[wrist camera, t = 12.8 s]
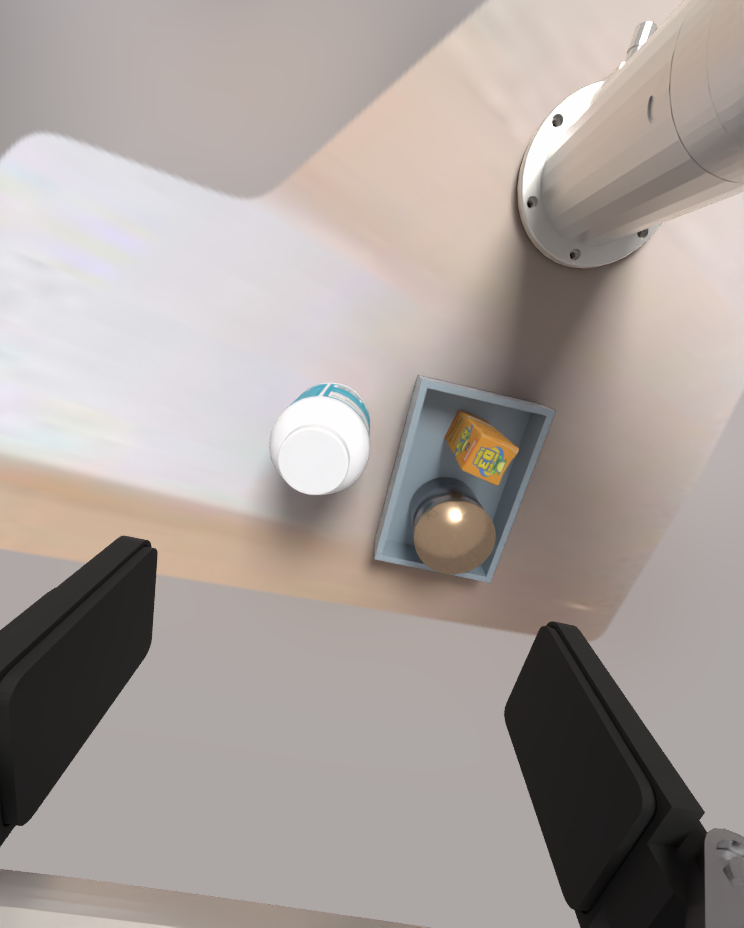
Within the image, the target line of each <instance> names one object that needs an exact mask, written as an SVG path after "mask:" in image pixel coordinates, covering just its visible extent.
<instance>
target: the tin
mask: <svg viewBox="0 0 744 928" xmlns="http://www.w3.org/2000/svg"><path fill="white" fill-rule="evenodd" d="M409 513H410V519H411V524H412V529H413V534H414V545H415V550H416V552H417V554H418V556H419V558H420V559H421V561H422V562H423V563H424V564H425V565H426V566H428V567H429V568H431V569H433V570H435V571H437V572H440V573H444V574H461V573H465V572H468V571H471V570H473V569H475V568H477V567H478V566H480V565H481V564H482V563H483V562H484V561H485V560H486V559H487V558H488V557H489V556H490V554H491V552H492V550H493V548H494V545H495V541H496V531H495V527H494V524H493V522H492V520H491V518H490V516H489V515H488V514H487V512H486V511H485V510H484V509H483V507H482V506H481V504H480V502H479V501H478V499H477V497H476V496H475V494H474V493H473V491H472V490H471V488H470V487H469V486H468V485H467V484H465V483H464V482H462V481H460V480H458V479H455V478H450V477H439V478H435V479H432V480H429V481H427V482H426V483H424V484H423V485H421V486H420V487H419V488H418V489H417V490H416V492H415V493H414V495H413V496H412V499H411V501H410V506H409Z"/></svg>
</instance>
